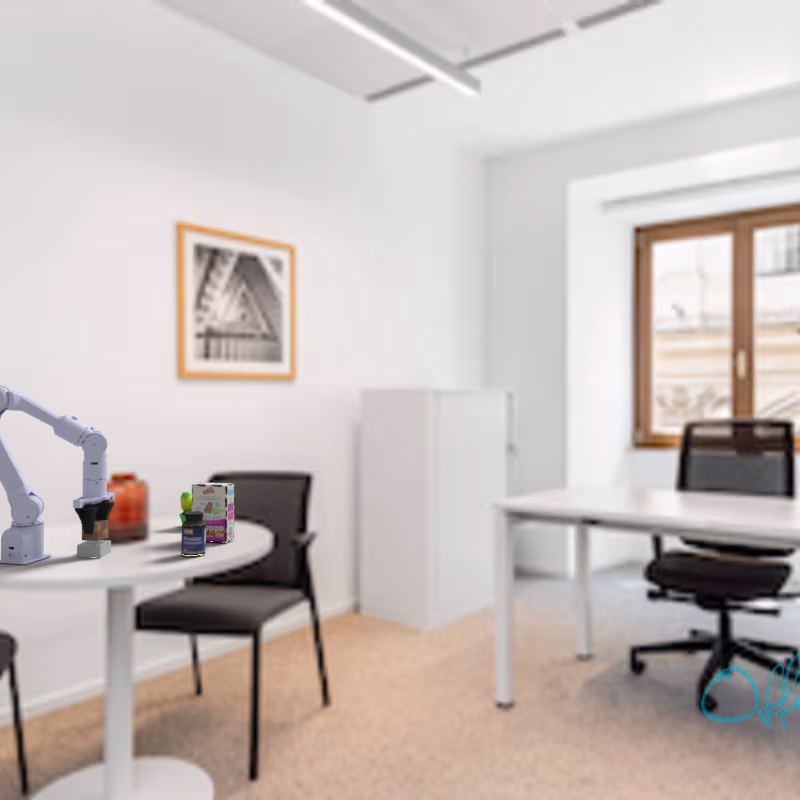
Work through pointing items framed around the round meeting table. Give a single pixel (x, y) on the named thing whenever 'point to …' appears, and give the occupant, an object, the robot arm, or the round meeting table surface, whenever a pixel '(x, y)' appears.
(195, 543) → the pill bottle
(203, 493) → the candy bar box
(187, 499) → the yellow green toy
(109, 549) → the grey block
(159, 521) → the round meeting table surface
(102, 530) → the walnut cube
